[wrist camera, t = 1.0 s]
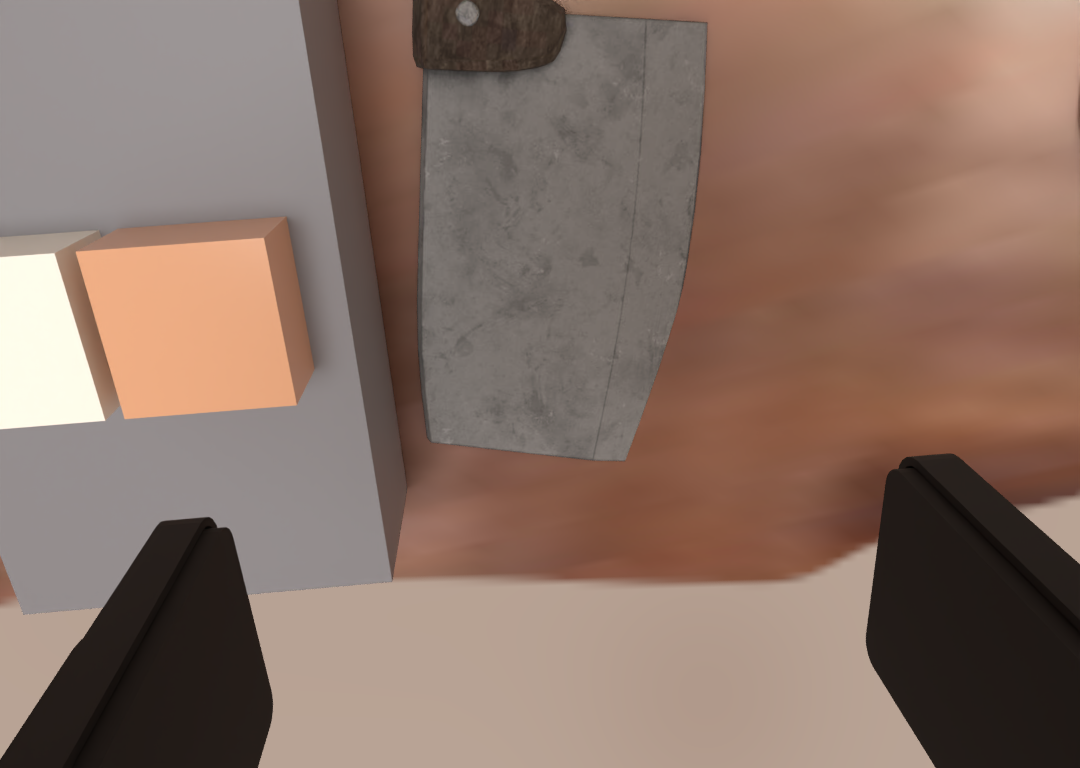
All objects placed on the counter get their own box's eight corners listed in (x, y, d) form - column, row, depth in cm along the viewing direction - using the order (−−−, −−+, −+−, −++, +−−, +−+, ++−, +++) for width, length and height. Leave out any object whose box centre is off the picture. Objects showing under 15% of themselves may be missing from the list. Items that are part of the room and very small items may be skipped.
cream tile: (99, 230, 22) (54, 253, 20) (141, 383, 24) (105, 420, 21) (-73, 242, 22) (-138, 267, 19) (-17, 395, 24) (-70, 434, 21)
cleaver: (405, -560, 21) (397, -620, 19) (778, -523, 22) (807, -576, 20) (421, 452, 33) (417, 480, 31) (661, 455, 33) (672, 482, 32)
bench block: (324, -85, 25) (279, -119, 19) (407, 488, 33) (392, 581, 27) (-84, -61, 24) (-251, -88, 19) (102, 514, 32) (23, 614, 27)
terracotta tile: (286, 216, 22) (263, 237, 20) (314, 369, 24) (297, 405, 22) (117, 228, 22) (75, 251, 20) (159, 381, 24) (124, 419, 21)
